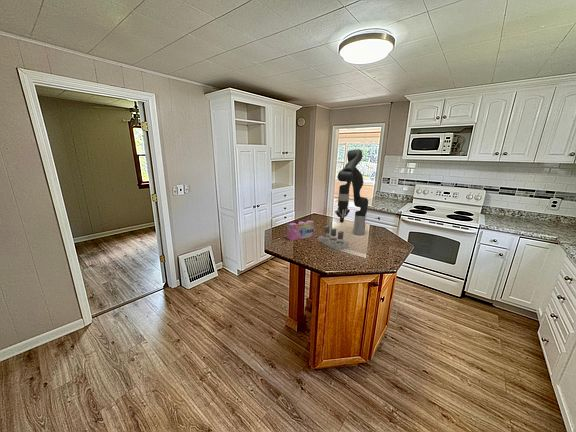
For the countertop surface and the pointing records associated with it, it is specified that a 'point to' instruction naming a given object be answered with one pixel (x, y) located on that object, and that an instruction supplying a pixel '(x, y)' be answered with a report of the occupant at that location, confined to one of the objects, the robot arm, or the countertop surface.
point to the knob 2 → (340, 235)
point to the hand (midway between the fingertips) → (341, 222)
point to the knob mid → (333, 232)
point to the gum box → (300, 229)
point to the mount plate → (333, 242)
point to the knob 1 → (327, 229)
